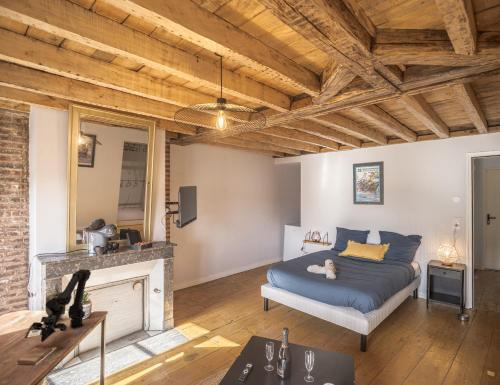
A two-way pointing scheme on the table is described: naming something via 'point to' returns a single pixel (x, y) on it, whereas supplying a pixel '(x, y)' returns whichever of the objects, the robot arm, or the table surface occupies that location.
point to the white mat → (46, 355)
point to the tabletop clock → (51, 299)
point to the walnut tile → (34, 355)
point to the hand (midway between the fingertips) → (41, 341)
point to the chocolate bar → (33, 332)
